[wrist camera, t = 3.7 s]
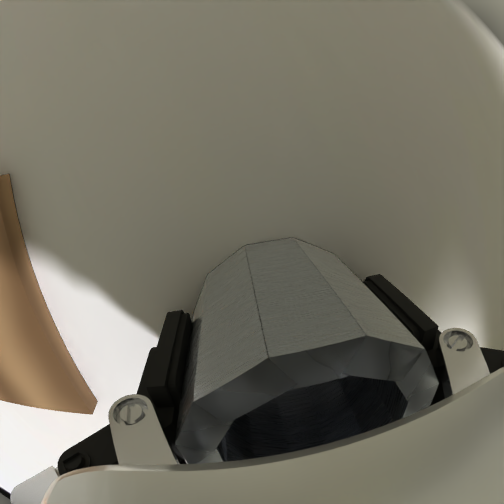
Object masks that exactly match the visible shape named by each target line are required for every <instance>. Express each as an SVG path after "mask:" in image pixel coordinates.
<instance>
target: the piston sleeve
mask: <svg viewBox="0 0 504 504" xmlns="http://www.w3.org/2000/svg"><path fill="white" fill-rule="evenodd" d="M438 385H439V382H438V379H437V377H436V374H435V372H434V369H433V367H432V364H431V362H430V359H429V357H428V354H427V352H426V350H425V348H424V347H423V346H422V345H421V344H420V343H419V342H418V340H417V339H416V338H415V337H414V336H413V335H412V334H411V333H410V332H409V331H408V329H407V328H406V327H405V326H404V325H403V324H402V323H401V322H400V321H399V320H398V319H397V318H396V317H395V316H394V314H393V313H392V312H391V311H390V310H389V309H388V308H387V307H386V306H385V305H384V304H383V303H382V302H381V301H380V300H379V299H378V298H377V297H376V296H375V295H374V294H373V293H372V292H371V291H370V290H369V288H368V287H367V286H366V285H365V284H364V283H363V282H362V281H361V280H360V279H359V278H358V277H357V276H356V275H355V274H354V273H353V272H352V271H351V270H350V269H349V268H348V267H347V266H346V265H345V264H344V263H343V262H341V261H340V260H339V259H338V258H337V257H336V256H335V255H334V254H333V253H331V252H329V251H326V250H324V249H321V248H318V247H316V246H313V245H311V244H308V243H306V242H303V241H300V240H298V239H295V238H287V239H280V240H274V241H268V242H262V243H256V244H250V245H245V246H243V247H242V248H241V249H239V250H238V251H237V252H235V253H234V254H233V255H232V256H230V257H229V258H228V259H227V260H225V261H224V262H223V263H221V264H220V265H219V266H218V267H216V268H215V269H214V270H213V271H211V272H210V273H209V274H208V275H207V277H206V280H205V283H204V285H203V288H202V291H201V294H200V297H199V299H198V302H197V305H196V308H195V311H194V314H193V320H192V327H191V333H190V339H189V346H188V352H187V359H186V365H185V372H184V379H183V386H182V394H181V400H180V406H179V413H178V421H177V430H176V438H175V446H176V447H177V449H178V450H179V452H180V453H181V455H182V456H183V457H184V459H185V460H186V462H187V463H188V464H200V463H216V462H228V461H237V460H246V459H254V458H260V457H267V456H273V455H279V454H284V453H289V452H294V451H299V450H303V449H308V448H312V447H316V446H320V445H324V444H328V443H332V442H335V441H339V440H342V439H346V438H349V437H352V436H355V435H359V434H362V433H365V432H368V431H370V430H373V429H376V428H379V427H382V426H384V425H387V424H390V423H392V422H395V421H397V420H400V419H402V418H405V417H407V416H409V415H412V414H414V413H416V412H419V411H421V410H423V409H425V408H427V407H429V406H430V405H431V402H432V400H433V397H434V395H435V392H436V390H437V387H438Z"/></svg>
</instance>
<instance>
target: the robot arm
mask: <svg viewBox="0 0 504 504" xmlns="http://www.w3.org/2000/svg"><path fill="white" fill-rule="evenodd" d="M363 283H364V284H365V285H366V286H367V287H368V288H369V290H370V291H371V292H372V293H373V294H374V295H375V296H376V297H377V298H378V299H379V300H380V301H381V302H382V303H383V304H384V305H385V306H386V307H387V308H388V309H389V310H390V311H391V312H392V313H393V314H394V316H395V317H396V318H397V319H398V320H399V321H400V322H401V323H402V324H403V325H404V326H405V327H406V328H407V329H408V331H409V332H410V333H411V334H412V335H413V336H414V337H415V338H416V339H417V340H418V342H419V343H420V344H421V345H422V346H423V347H424V348H425V350H426V352H427V354H428V357H429V359H430V362H431V364H432V367H433V369H434V372H435V374H436V377H437V379H438V382H439V385H438V387H437V390H436V392H435V395H434V397H433V400H432V402H431V405H430V406H429V407H427V408H425V409H423V410H421V411H419V412H416V413H414V414H412V415H409V416H407V417H405V418H402V419H400V420H397V421H395V422H392V423H390V424H387V425H384V426H382V427H379V428H376V429H373V430H370V431H368V432H365V433H362V434H359V435H355V436H352V437H349V438H346V439H342V440H339V441H335V442H332V443H328V444H324V445H320V446H316V447H312V448H308V449H303V450H299V451H294V452H289V453H284V454H279V455H273V456H267V457H260V458H254V459H246V460H237V461H228V462H216V463H200V464H188V463H187V462H186V460H185V459H184V457H183V456H182V455H181V453H180V452H179V450H178V449H177V447H176V446H175V438H176V430H177V421H178V413H179V406H180V400H181V394H182V386H183V379H184V372H185V365H186V359H187V352H188V346H189V339H190V333H191V327H192V321H191V318H190V315H189V313H185V314H184V312H183V310H179V311H172V312H168V313H167V316H166V319H165V322H164V325H163V328H162V332H161V335H160V338H159V341H158V345H157V347H153V348H151V350H150V352H149V355H148V358H147V362H146V365H145V368H144V371H143V375H142V378H141V381H140V385H139V388H138V391H137V394H132V395H127V396H124V397H122V398H120V399H118V400H117V401H116V402H114V404H113V405H112V406H111V408H110V410H109V423H110V424H109V425H107V426H106V427H104V428H102V429H101V430H99V431H97V432H96V433H94V434H93V435H91V436H89V437H88V438H86V439H84V440H83V441H81V442H79V443H78V444H76V445H74V446H73V447H71V448H69V449H68V450H66V451H65V452H64V453H63V454H62V455H61V456H60V458H59V461H58V467H57V468H54V467H53V466H51V467H49V468H47V469H46V470H44V471H42V472H40V473H39V474H37V475H35V476H33V477H32V478H30V479H28V480H26V481H24V482H23V483H21V484H19V485H17V486H16V487H15V488H14V489H13V491H12V492H11V498H10V499H11V504H504V351H501V350H495V349H488V348H482V347H479V344H478V342H477V340H476V338H475V337H474V335H473V334H472V333H470V332H469V331H467V330H465V329H461V328H450V329H447V330H445V331H443V332H442V333H441V332H440V331H439V330H438V325H437V324H436V323H435V322H433V321H432V320H431V319H430V318H429V317H428V316H427V315H426V314H425V313H424V312H423V311H422V310H420V309H419V308H418V307H417V306H416V305H415V304H414V303H413V302H412V301H410V300H409V299H408V298H407V297H406V296H405V295H404V294H403V293H401V292H400V291H399V290H398V289H397V288H396V287H395V286H393V285H392V284H391V283H390V282H389V281H388V280H386V279H385V278H384V277H383V276H382V275H380V274H378V275H374V276H369V277H366V279H365V281H363Z"/></svg>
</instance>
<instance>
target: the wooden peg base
mask: <svg viewBox="0 0 504 504" xmlns="http://www.w3.org/2000/svg"><path fill="white" fill-rule="evenodd" d="M0 400H2V401H6V402H11V403H15V404H20V405H25V406H30V407H36V408H42V409H48V410H55V411H63V412H72V413H82V414H93V412H94V409H95V407H96V404H97V402H98V401H97V400H96V398H95V397H94V395H93V394H92V392H91V390H90V389H89V387H88V386H87V384H86V382H85V381H84V379H83V377H82V375H81V374H80V372H79V370H78V369H77V367H76V365H75V363H74V361H73V360H72V358H71V356H70V354H69V352H68V350H67V348H66V346H65V344H64V342H63V340H62V338H61V336H60V334H59V332H58V330H57V328H56V326H55V324H54V321H53V319H52V317H51V315H50V312H49V310H48V308H47V305H46V303H45V300H44V298H43V295H42V293H41V290H40V288H39V285H38V282H37V280H36V277H35V274H34V271H33V268H32V265H31V262H30V259H29V256H28V253H27V250H26V246H25V243H24V239H23V236H22V232H21V228H20V224H19V220H18V216H17V212H16V207H15V202H14V198H13V192H12V187H11V181H10V175H9V174H6V175H1V176H0Z"/></svg>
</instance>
